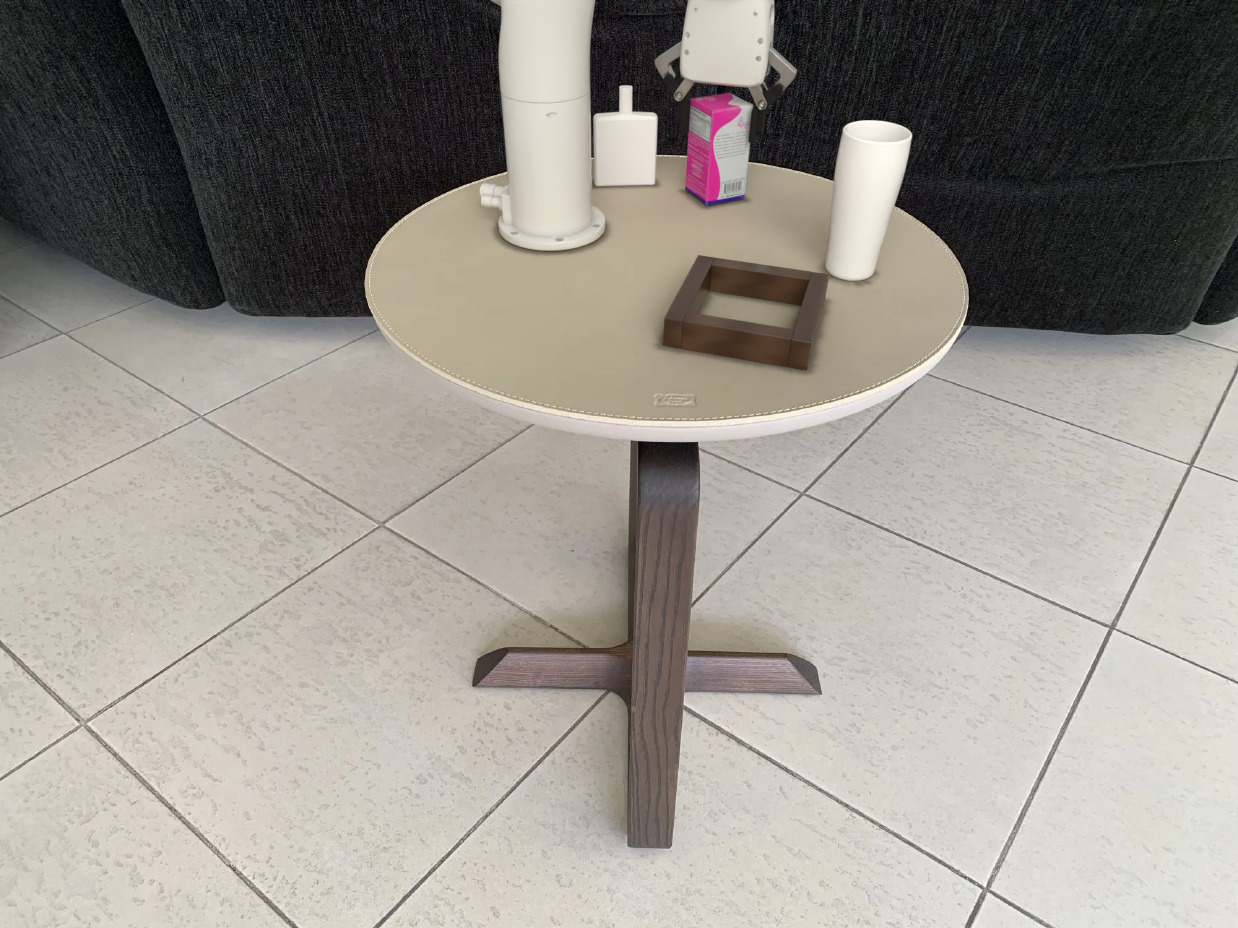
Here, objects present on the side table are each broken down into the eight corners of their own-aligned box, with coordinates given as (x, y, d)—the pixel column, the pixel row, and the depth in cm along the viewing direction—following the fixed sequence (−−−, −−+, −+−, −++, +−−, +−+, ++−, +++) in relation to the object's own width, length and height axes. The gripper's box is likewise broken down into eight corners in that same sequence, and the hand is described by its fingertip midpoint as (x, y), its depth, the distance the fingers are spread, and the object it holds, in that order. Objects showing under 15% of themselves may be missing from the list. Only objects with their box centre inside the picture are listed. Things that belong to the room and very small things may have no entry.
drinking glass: (835, 252, 94) (861, 115, 85) (891, 270, 91) (925, 129, 81) (806, 273, 90) (829, 132, 81) (863, 293, 87) (894, 148, 77)
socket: (662, 345, 79) (663, 318, 77) (696, 280, 89) (698, 254, 87) (806, 370, 76) (811, 342, 74) (824, 300, 86) (829, 274, 84)
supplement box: (721, 182, 109) (730, 91, 102) (745, 199, 105) (757, 105, 98) (682, 189, 107) (689, 96, 100) (705, 207, 103) (714, 111, 96)
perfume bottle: (654, 179, 110) (657, 83, 102) (656, 185, 109) (659, 88, 101) (593, 181, 110) (592, 85, 102) (594, 187, 108) (593, 89, 100)
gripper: (817, -29, 91) (794, 134, 102) (664, -39, 95) (658, 119, 106) (808, -16, 86) (785, 155, 97) (646, -27, 90) (642, 138, 101)
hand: (719, 135), depth 102 cm, fingers closed on supplement box, 8 cm apart
